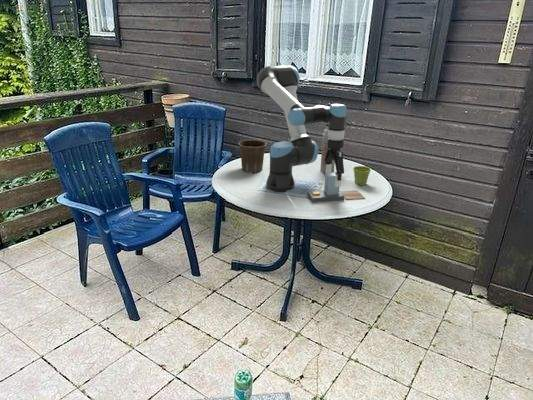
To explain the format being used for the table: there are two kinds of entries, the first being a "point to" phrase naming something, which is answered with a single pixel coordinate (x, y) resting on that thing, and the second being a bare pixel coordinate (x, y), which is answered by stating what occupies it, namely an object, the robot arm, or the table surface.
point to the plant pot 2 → (361, 174)
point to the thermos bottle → (325, 151)
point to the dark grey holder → (323, 196)
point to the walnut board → (352, 195)
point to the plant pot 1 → (252, 155)
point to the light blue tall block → (330, 184)
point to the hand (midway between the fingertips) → (332, 181)
